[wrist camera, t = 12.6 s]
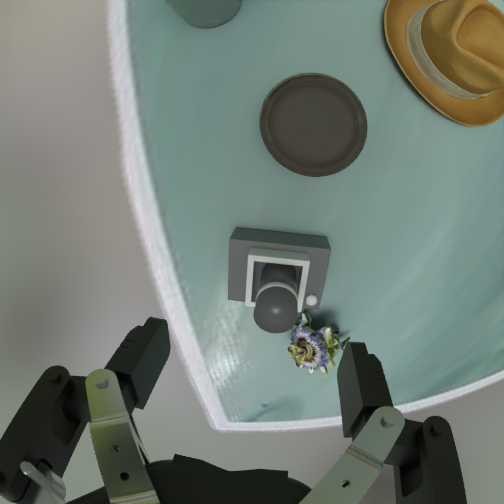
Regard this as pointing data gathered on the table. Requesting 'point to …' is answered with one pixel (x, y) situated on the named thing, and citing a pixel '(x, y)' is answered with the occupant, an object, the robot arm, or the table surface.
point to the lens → (277, 298)
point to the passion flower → (314, 345)
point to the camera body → (281, 252)
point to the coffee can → (313, 124)
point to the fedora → (451, 55)
